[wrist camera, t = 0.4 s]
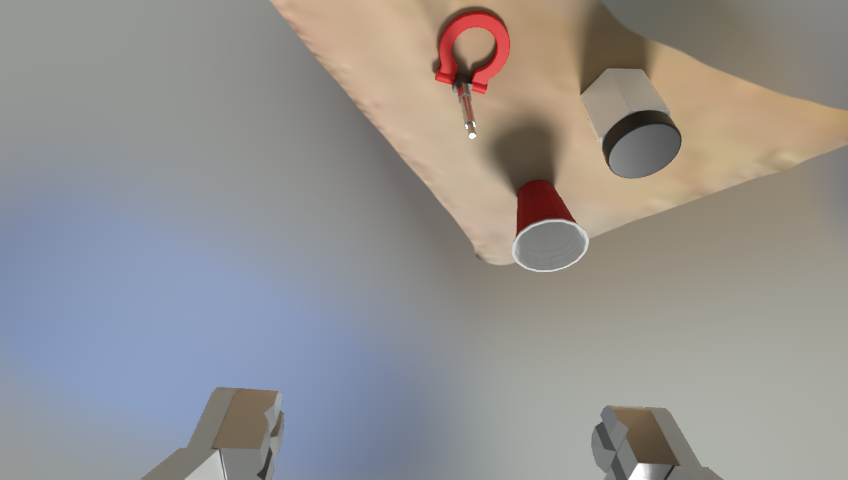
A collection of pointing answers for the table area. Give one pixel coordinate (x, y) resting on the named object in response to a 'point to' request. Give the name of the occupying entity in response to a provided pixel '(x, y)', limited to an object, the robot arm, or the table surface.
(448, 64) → the tow hook
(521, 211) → the plastic cup
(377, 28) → the table surface
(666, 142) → the jar
